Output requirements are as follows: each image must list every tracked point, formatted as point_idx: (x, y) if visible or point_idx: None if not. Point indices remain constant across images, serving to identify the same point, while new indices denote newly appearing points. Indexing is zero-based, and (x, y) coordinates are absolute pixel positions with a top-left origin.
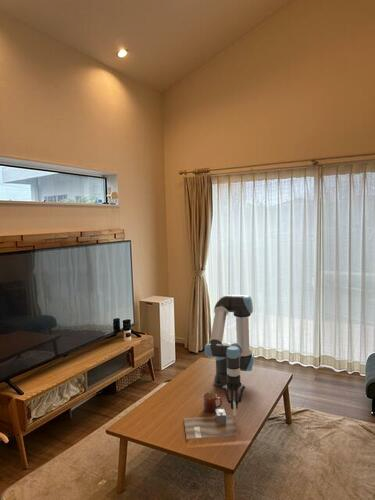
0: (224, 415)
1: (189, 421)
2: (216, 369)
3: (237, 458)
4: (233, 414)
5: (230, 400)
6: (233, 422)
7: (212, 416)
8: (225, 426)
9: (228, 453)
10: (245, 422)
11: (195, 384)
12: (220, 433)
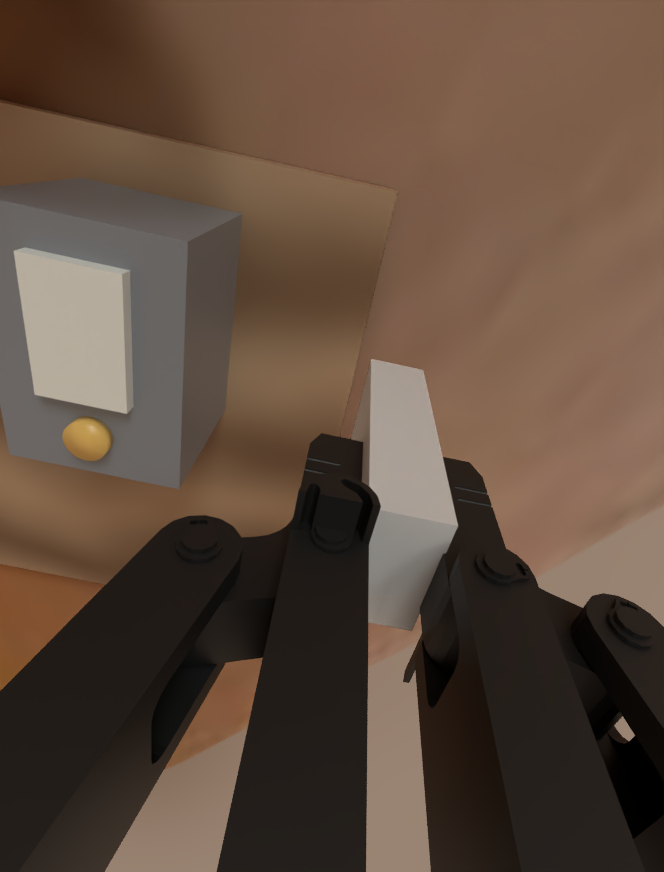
0: (149, 480)
1: None
2: None
3: (200, 747)
4: (352, 436)
5: (260, 615)
6: (334, 423)
7: (19, 113)
8: (195, 464)
9: None
10: (521, 418)
11: None
12: (110, 550)
